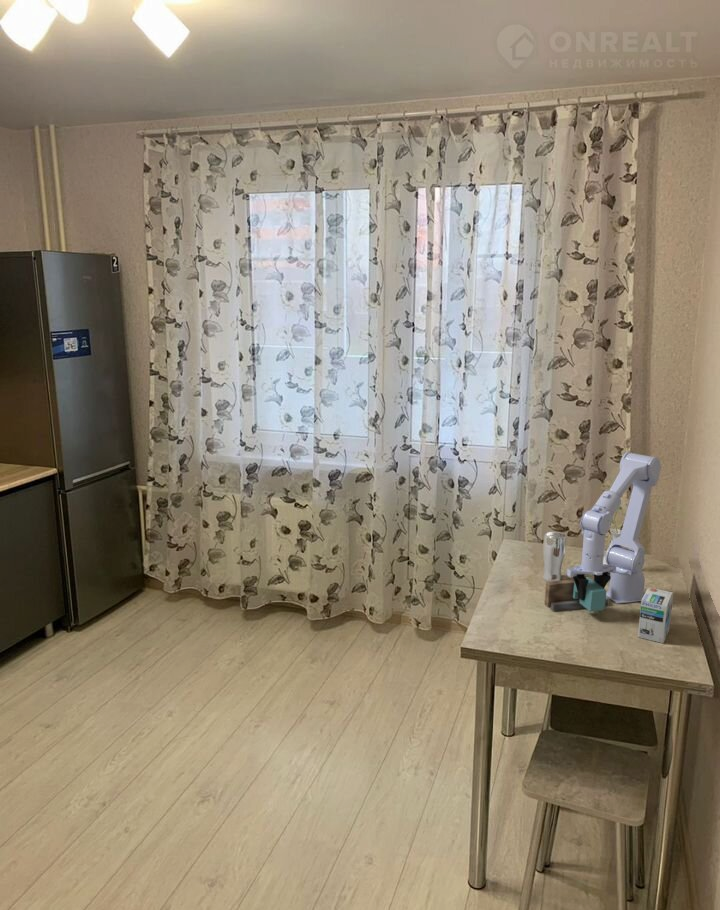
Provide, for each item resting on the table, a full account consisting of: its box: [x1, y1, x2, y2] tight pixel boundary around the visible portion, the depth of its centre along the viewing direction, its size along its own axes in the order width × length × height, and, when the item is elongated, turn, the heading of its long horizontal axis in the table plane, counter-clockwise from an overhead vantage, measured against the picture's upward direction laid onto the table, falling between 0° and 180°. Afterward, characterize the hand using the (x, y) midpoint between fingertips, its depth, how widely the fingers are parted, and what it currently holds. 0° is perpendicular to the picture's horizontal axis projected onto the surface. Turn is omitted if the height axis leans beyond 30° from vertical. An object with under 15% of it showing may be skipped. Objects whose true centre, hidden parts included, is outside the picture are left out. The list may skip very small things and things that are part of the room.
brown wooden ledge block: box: [544, 576, 610, 613], centre depth 202 cm, size 18×5×7 cm, turn 104°
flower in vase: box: [603, 497, 629, 564], centre depth 227 cm, size 13×11×25 cm
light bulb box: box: [637, 586, 674, 644], centre depth 185 cm, size 11×7×11 cm, turn 148°
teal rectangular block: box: [573, 576, 608, 613], centre depth 196 cm, size 4×9×6 cm, turn 14°
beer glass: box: [541, 530, 567, 582], centre depth 220 cm, size 7×7×15 cm
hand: (589, 597), depth 196 cm, fingers closed on teal rectangular block, 4 cm apart
